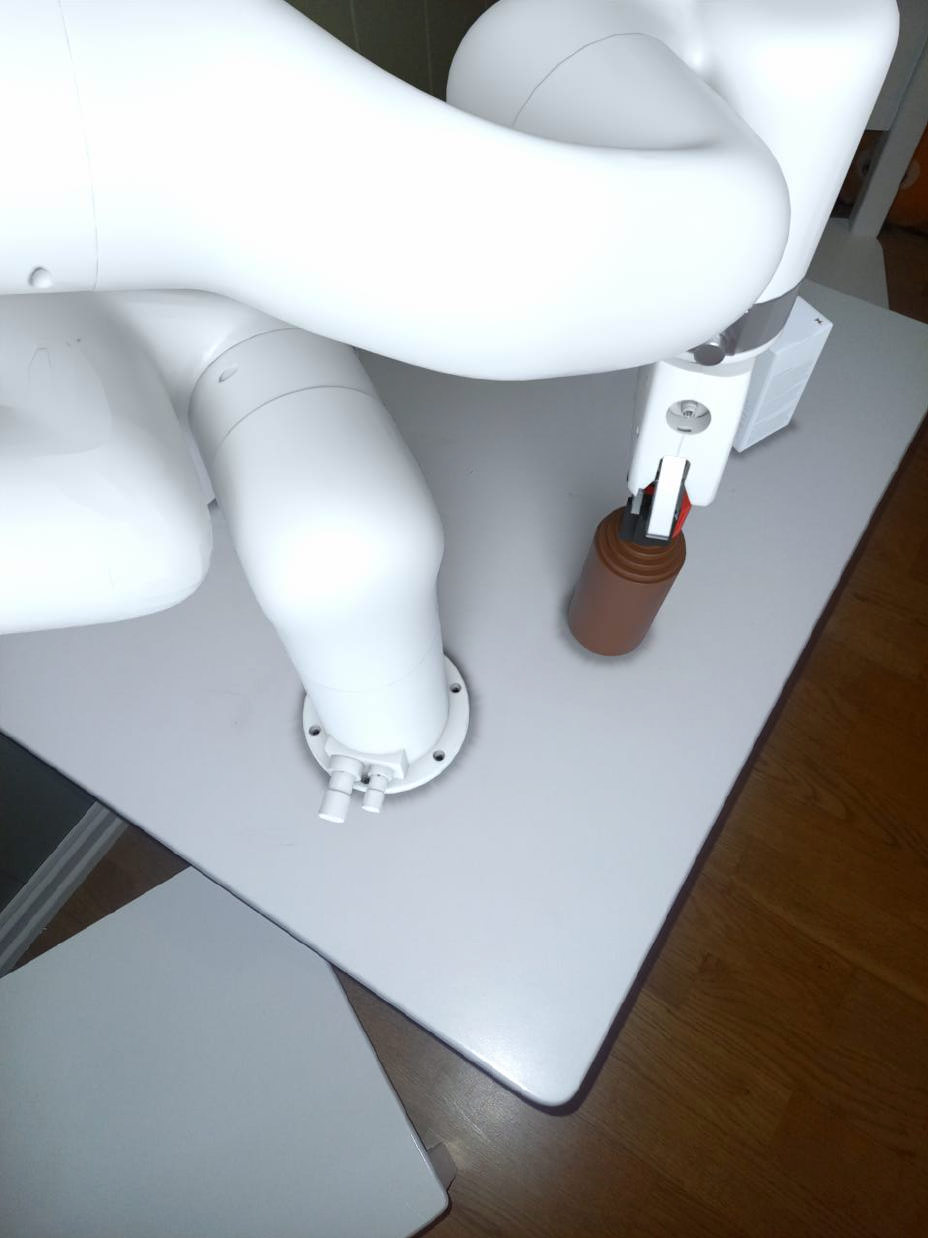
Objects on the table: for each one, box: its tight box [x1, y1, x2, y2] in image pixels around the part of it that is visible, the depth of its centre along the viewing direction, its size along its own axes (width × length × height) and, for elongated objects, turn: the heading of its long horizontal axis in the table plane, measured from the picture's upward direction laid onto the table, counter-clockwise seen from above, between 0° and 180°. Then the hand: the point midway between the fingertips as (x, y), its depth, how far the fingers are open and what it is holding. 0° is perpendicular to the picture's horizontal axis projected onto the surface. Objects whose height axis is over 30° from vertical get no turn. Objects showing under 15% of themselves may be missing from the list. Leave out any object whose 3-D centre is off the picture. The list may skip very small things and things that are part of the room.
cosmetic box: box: [732, 295, 834, 453], centre depth 72 cm, size 6×4×12 cm
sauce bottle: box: [567, 505, 687, 657], centre depth 61 cm, size 6×6×16 cm
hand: (647, 509), depth 55 cm, fingers closed on cap, 3 cm apart
